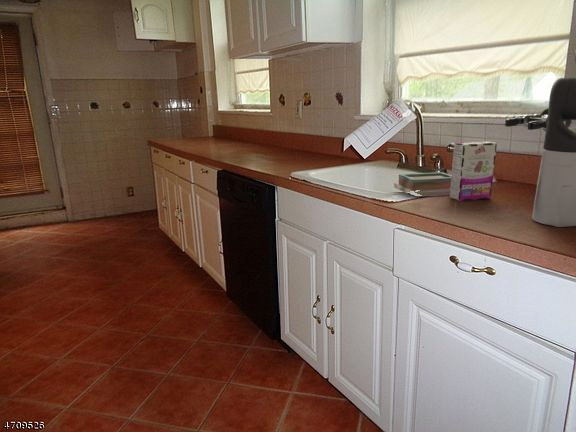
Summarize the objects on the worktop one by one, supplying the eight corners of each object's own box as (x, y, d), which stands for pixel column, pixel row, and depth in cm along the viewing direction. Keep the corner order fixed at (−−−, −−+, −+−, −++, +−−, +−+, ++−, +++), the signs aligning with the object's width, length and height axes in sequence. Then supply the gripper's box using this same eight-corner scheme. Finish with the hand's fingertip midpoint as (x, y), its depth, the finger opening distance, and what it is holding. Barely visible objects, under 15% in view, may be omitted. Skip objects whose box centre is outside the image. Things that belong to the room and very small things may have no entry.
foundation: (462, 194, 132) (464, 178, 130) (414, 196, 128) (416, 181, 127) (437, 185, 145) (439, 171, 143) (394, 187, 141) (395, 173, 140)
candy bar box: (479, 195, 130) (486, 140, 126) (491, 198, 126) (498, 142, 121) (447, 197, 127) (453, 142, 123) (458, 201, 123) (464, 144, 118)
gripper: (543, 104, 133) (500, 109, 129) (585, 107, 120) (538, 113, 116) (540, 128, 135) (498, 134, 131) (581, 133, 122) (535, 140, 118)
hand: (517, 124), depth 124 cm, fingers open, 8 cm apart
